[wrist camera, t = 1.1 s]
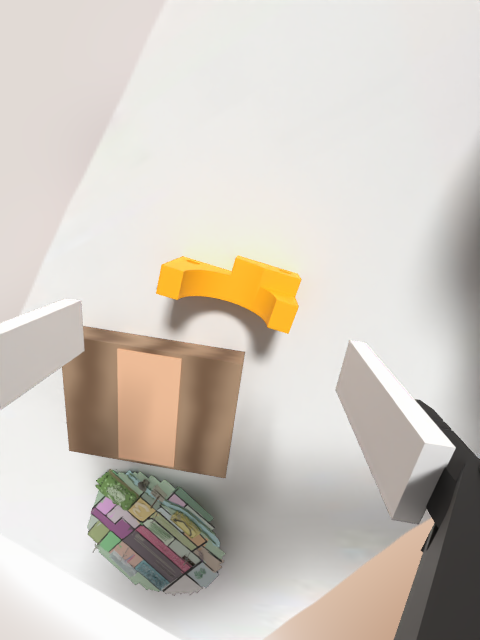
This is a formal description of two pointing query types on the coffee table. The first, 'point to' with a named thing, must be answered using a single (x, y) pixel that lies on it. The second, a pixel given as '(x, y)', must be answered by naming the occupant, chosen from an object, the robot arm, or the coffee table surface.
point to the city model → (154, 533)
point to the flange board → (152, 401)
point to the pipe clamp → (236, 287)
